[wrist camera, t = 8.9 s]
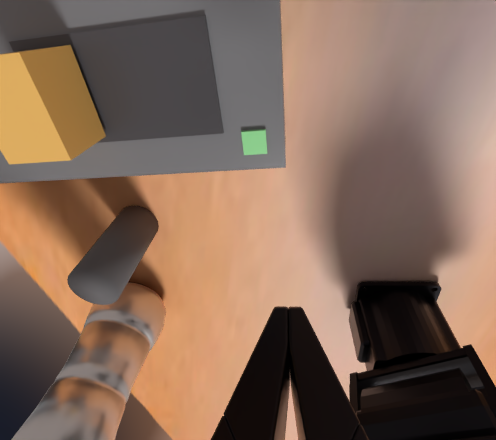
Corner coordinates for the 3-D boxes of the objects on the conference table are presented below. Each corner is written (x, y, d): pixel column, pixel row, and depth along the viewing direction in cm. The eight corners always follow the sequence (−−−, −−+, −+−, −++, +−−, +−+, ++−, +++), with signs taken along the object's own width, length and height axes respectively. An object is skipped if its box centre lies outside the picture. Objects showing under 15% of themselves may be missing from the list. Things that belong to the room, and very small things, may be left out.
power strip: (278, -49, 13) (277, -70, 10) (285, 140, 19) (285, 169, 15) (-118, 15, 17) (-222, 15, 13) (-20, 161, 22) (-76, 188, 18)
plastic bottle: (97, 271, 28) (-168, 638, 11) (166, 275, 27) (-9, 669, 11) (116, 313, 31) (-64, 636, 15) (177, 318, 31) (58, 659, 14)
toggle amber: (70, 44, 12) (18, 52, 10) (106, 136, 15) (71, 160, 12) (9, 52, 13) (-55, 61, 10) (53, 140, 15) (9, 164, 13)
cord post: (151, 204, 23) (107, 269, 17) (163, 237, 24) (126, 305, 19) (113, 206, 23) (58, 269, 17) (127, 238, 25) (81, 304, 19)
